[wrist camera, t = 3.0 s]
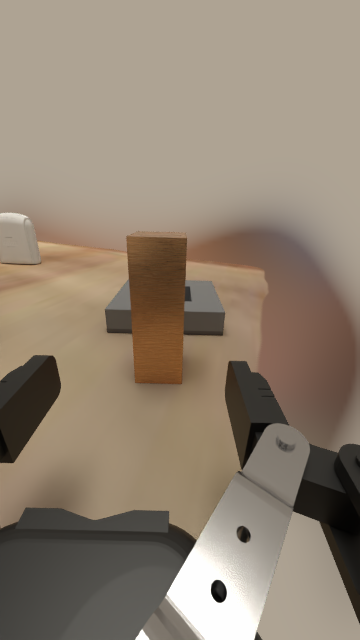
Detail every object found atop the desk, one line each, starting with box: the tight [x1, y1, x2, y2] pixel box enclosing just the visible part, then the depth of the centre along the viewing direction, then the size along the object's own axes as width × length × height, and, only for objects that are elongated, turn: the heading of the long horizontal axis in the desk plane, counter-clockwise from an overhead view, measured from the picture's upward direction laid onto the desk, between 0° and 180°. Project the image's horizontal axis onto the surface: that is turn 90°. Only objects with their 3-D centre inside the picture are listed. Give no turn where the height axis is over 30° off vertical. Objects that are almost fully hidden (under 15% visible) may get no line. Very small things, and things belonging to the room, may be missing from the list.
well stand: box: [105, 279, 225, 335], centre depth 35 cm, size 14×14×3 cm
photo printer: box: [0, 213, 41, 264], centre depth 62 cm, size 10×4×12 cm, turn 83°
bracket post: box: [127, 231, 187, 384], centre depth 20 cm, size 4×4×12 cm
